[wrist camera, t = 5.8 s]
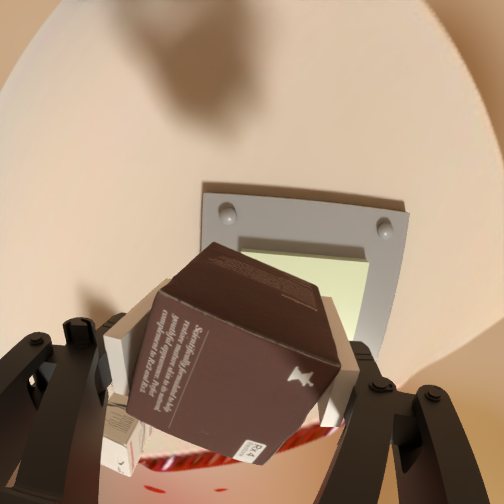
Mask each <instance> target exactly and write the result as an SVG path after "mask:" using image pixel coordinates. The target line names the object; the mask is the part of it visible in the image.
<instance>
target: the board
mask: <svg viewBox="0 0 504 504" xmlns="http://www.w3.org/2000/svg"><path fill="white" fill-rule="evenodd" d="M409 215H410V213H408V212H404V211H397V210H390V209H383V208H376V207H368V206H360V205H352V204H343V203H334V202H325V201H315V200H305V199H294V198H283V197H271V196H258V195H244V194H228V193H210V192H205V193H203V210H202V241H201V252H202V251H203V250H204V249H205V248H206V247H208V246H209V245H210V244H211V243H212V242H216V243H219V244H221V245H223V246H226V247H228V248H230V249H232V250H235V251H237V252H240V253H242V254H244V255H247V256H249V257H251V258H254V259H256V260H258V261H261V262H263V263H265V264H268V265H270V266H272V267H275V268H277V269H279V270H281V271H284V272H286V273H289V274H291V275H293V276H296V277H298V278H300V279H303V280H305V281H307V282H310V283H312V284H315V285H316V286H318V288H319V292H320V295H321V296H326V297H332V300H333V302H334V305H335V307H336V309H337V312H338V315H339V317H340V320H341V322H342V325H343V327H344V330H345V332H346V335H347V338H348V340H349V341H362V342H363V343H364V344H365V345H367V346H368V347H369V349H370V351H371V353H372V356H373V358H374V361H375V362H376V361H377V358H378V355H379V352H380V349H381V345H382V342H383V338H384V335H385V331H386V328H387V324H388V320H389V317H390V313H391V309H392V305H393V301H394V297H395V292H396V288H397V283H398V279H399V274H400V269H401V264H402V259H403V253H404V247H405V242H406V235H407V229H408V222H409Z"/></svg>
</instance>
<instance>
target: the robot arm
mask: <svg viewBox="0 0 504 504" xmlns="http://www.w3.org/2000/svg"><path fill="white" fill-rule="evenodd" d="M171 280H172V279H165V280H164V281H163V282H162V283H161V284H159V285H158V286H157V287H156V288H155V289H154V290H153V291H151V292H150V293H149V294H148V295H147V296H146V297H145V298H144V299H142V300H141V301H140V302H139V303H138V304H137V305H136V306H135V307H134V308H132V309H131V310H130V311H129V312H128V313H119V314H117V315H114V316H113V317H111V318H110V319H109V320H108V321H107V322H106V323H104V324H103V326H101V327H100V328H99V329H97V330H95V324H94V322H93V321H92V320H91V319H89V318H84V317H77V318H72V319H69V320H67V321H65V322H64V323H63V329H64V334H65V338H66V345H65V346H62V345H52V341H51V337H50V336H49V335H48V334H46V333H42V332H37V333H36V332H34V333H32V334H29V335H27V336H26V337H24V338H23V339H22V340H21V341H20V342H19V343H18V344H17V345H15V346H14V347H13V348H12V349H11V350H10V351H9V352H8V353H7V354H6V355H4V356H3V357H2V358H1V359H0V504H98V493H99V475H100V474H99V473H100V462H101V451H102V441H103V432H104V424H105V417H106V410H107V403H108V397H109V396H108V390H107V387H108V386H109V385H110V383H111V382H112V385H113V389H114V393H117V394H121V395H124V396H127V397H128V395H129V391H130V386H131V383H132V379H133V374H134V370H135V366H136V362H137V358H138V353H139V350H140V346H141V342H142V338H143V334H144V330H145V327H146V324H147V320H148V317H149V314H150V311H151V308H152V304H153V301H154V298H155V296H156V294H157V292H158V290H159V289H161V288H162V287H163V286H165V285H167V284H168V283H169V282H170V281H171ZM321 299H322V302H323V305H324V308H325V312H326V314H327V318H328V321H329V325H330V328H331V332H332V335H333V339H334V341H335V344H336V348H337V353H338V358H339V360H340V362H341V365H342V366H341V370H340V372H339V373H338V374H337V376H336V377H335V379H334V380H333V382H332V383H331V385H330V386H329V387H328V388H327V390H326V391H325V392H324V394H323V395H322V396H321V397H320V399H319V400H318V401H317V402H318V410H319V419H320V427H340V425H341V423H342V420H343V418H344V419H345V424H346V425H345V427H344V430H343V432H342V435H341V437H340V439H339V442H338V444H337V445H338V446H337V449H336V451H335V454H334V457H333V459H332V461H331V464H330V466H329V469H328V471H327V474H326V476H325V478H324V481H323V483H322V485H321V488H320V490H319V492H318V494H317V496H316V499H315V501H314V503H313V504H377V502H378V498H379V494H380V490H381V486H382V481H383V477H384V473H385V468H386V462H387V457H388V452H389V446H390V444H392V449H393V456H394V463H395V470H396V478H397V487H398V496H399V504H490V502H489V498H488V495H487V492H486V489H485V485H484V482H483V479H482V476H481V473H480V471H479V468H478V465H477V462H476V459H475V457H474V454H473V451H472V449H471V446H470V444H469V441H468V439H467V436H466V434H465V431H464V429H463V427H462V424H461V422H460V420H459V417H458V415H457V413H456V411H455V408H454V406H453V404H452V402H451V400H450V397H449V395H448V394H447V393H446V392H445V390H443V389H442V388H440V387H437V386H435V385H423V386H422V387H420V388H419V389H418V391H417V393H416V395H415V394H409V393H403V392H399V391H397V389H396V385H395V384H394V383H393V382H392V381H391V380H389V379H387V378H385V377H382V375H381V373H380V371H379V369H378V366H377V364H376V362H375V361H374V358H373V356H372V353H371V351H370V349H369V347H368V346H367V345H365V344H364V343H363V342H362V341H349V340H348V338H347V335H346V332H345V330H344V327H343V325H342V322H341V320H340V317H339V315H338V312H337V309H336V307H335V305H334V302H333V300H332V297H326V296H321ZM32 375H33V378H34V381H35V383H34V384H33V385H31V384H30V382H29V378H30V377H31V376H32ZM20 460H21V463H20V466H19V470H18V474H17V477H16V481H15V484H14V486H13V487H12V488H8V487H5V486H6V484H7V483H8V480H9V479H10V478H11V476H12V474H13V472H14V471H15V469H16V467H17V466H18V464H19V462H20Z"/></svg>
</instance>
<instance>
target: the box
mask: <svg viewBox="0 0 504 504" xmlns="http://www.w3.org/2000/svg"><path fill="white" fill-rule="evenodd" d="M341 366H342V365H341V362H340V360H339V358H338V353H337V348H336V344H335V341H334V339H333V335H332V332H331V328H330V325H329V321H328V318H327V314H326V312H325V308H324V305H323V302H322V299H321V295H320V292H319V288H318V286H316V285H315V284H312V283H310V282H307V281H305V280H303V279H300V278H298V277H296V276H293V275H291V274H289V273H286V272H284V271H281V270H279V269H277V268H275V267H272V266H270V265H268V264H265V263H263V262H261V261H258V260H256V259H254V258H251V257H249V256H247V255H244V254H242V253H240V252H237V251H235V250H232V249H230V248H228V247H226V246H223V245H221V244H219V243H216V242H212V243H211V244H210V245H209V246H208V247H206V248H205V249H204V250H203V251H202V252H201V253H200V254H198V256H196V257H195V258H194V259H193V260H192V261H191V262H190V263H189V264H188V265H187V266H186V267H185V268H183V269H182V270H181V271H180V272H179V273H178V274H177V275H175V276H174V277H173V278H172V280H171V281H170V282H169V283H168V284H167V285H165V286H163V287H162V288H161V289H159V290H158V292H157V294H156V296H155V298H154V301H153V304H152V308H151V311H150V314H149V317H148V320H147V324H146V327H145V330H144V334H143V338H142V342H141V346H140V350H139V353H138V358H137V362H136V366H135V370H134V374H133V379H132V383H131V386H130V391H129V395H128V401H127V407H126V413H127V414H128V415H130V416H132V417H134V418H136V419H138V420H140V421H142V422H144V423H146V424H148V425H150V426H153V427H154V428H157V429H159V430H161V431H163V432H165V433H168V434H170V435H173V436H175V437H177V438H180V439H182V440H184V441H187V442H190V443H192V444H195V445H197V446H200V447H202V448H205V449H208V450H210V451H213V452H216V453H219V454H221V455H224V456H227V457H230V458H233V459H236V460H240V461H244V462H248V463H253V464H257V465H265V464H266V463H267V462H268V460H269V459H270V458H271V457H272V456H273V455H274V454H275V453H276V452H277V450H278V449H279V448H280V447H281V446H282V444H283V443H284V442H285V441H286V440H287V439H288V438H289V437H290V436H292V435H293V434H294V433H295V432H296V431H297V430H298V429H299V428H300V427H301V426H302V424H303V423H304V421H305V419H306V417H307V414H308V413H309V412H310V410H311V409H312V408H313V407H314V405H315V404H316V403H317V401H318V400H319V399H320V397H321V396H322V395H323V394H324V392H325V391H326V390H327V388H328V387H329V386H330V385H331V383H332V382H333V380H334V379H335V377H336V376H337V374H338V373H339V372H340V370H341Z"/></svg>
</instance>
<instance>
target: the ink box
mask: <svg viewBox="0 0 504 504" xmlns="http://www.w3.org/2000/svg"><path fill="white" fill-rule="evenodd" d="M127 401H128V397H127V396H124V395H121V394H117V393H113V395H112V396H111V397H110V399H109V400H108V403H107V410H106V417H105V424H104V432H103V441H102V451H101V462H100V464H102V465H104V466H107V467H109V468H111V469H113V470H115V471H117V472H119V473H121V474H124V475H126V476H129V477H131V475H132V473H133V471H134V469H135V467H136V464H137V463H138V461H139V459H140V457H141V454H142V452H143V450H144V448H145V446H146V444H147V442H148V440H149V438H150V436H151V434H152V432H153V430H154V427H153V426H150V425H148V424H146V423H144V422H142V421H140V420H138V419H136V418H134V417H132V416H130V415H128V414H127V413H126V407H127Z"/></svg>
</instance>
